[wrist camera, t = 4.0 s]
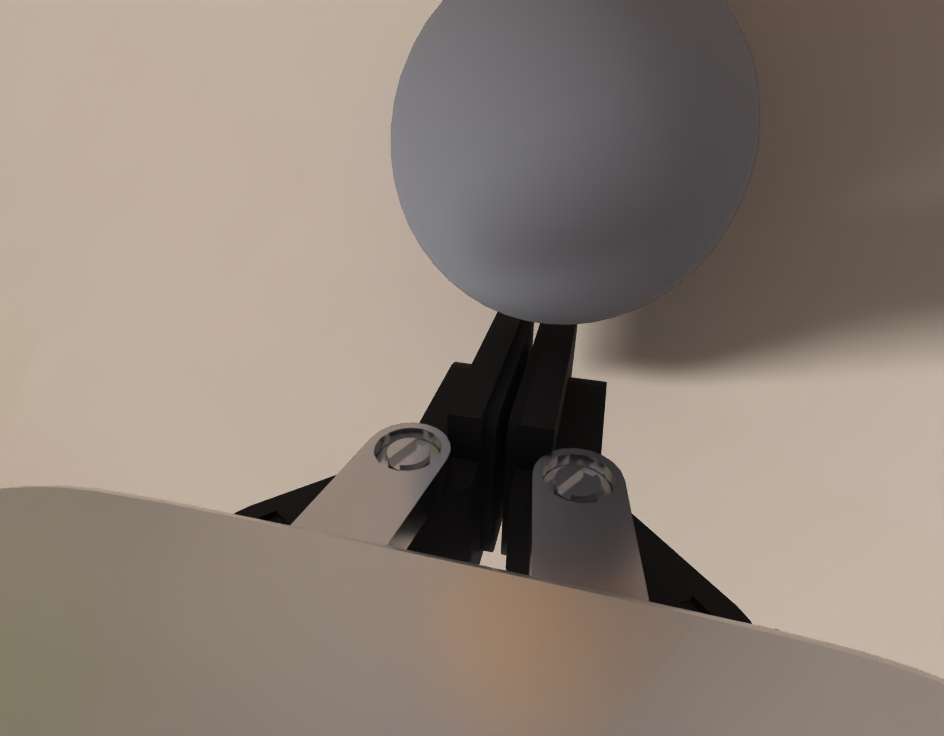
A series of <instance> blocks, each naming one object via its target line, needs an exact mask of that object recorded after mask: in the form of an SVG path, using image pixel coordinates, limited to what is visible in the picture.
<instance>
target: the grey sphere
mask: <svg viewBox="0 0 944 736" xmlns="http://www.w3.org/2000/svg"><path fill="white" fill-rule="evenodd" d="M759 126H760V110H759V95H758V82H757V78H756V73H755V69H754V64H753V59H752V56H751V53H750V51H749V48H748V46H747V43H746V40H745V38H744V35H743V33H742V31H741V29H740V26H739V24H738V22H737V20H736V19H735V17H734V16H733V14H732V12H731V11H730V9H729V7H728V6H727V4H726V3H725V1H724V0H443V1H442V3H441V4H440V5H439V6H438V8H437V9H436V10H435V11H434V13H433V14H432V15H431V17H430V18H429V19H428V20H427V22H426V23H425V25H424V27H423V29H422V30H421V32H420V34H419V36H418V37H417V39H416V41H415V42H414V45H413V47H412V49H411V51H410V54H409V56H408V59H407V61H406V64H405V66H404V69H403V71H402V74H401V76H400V80H399V84H398V88H397V92H396V96H395V99H394V107H393V115H392V123H391V160H392V167H393V175H394V182H395V186H396V189H397V193H398V197H399V201H400V204H401V207H402V209H403V212H404V214H405V217H406V219H407V222H408V224H409V227H410V228H411V230H412V232H413V234H414V236H415V237H416V239H417V241H418V243H419V245H420V246H421V248H422V249H423V250H424V252H425V253H426V254H427V256H428V257H429V258H430V260H431V261H432V263H433V264H434V265H435V266H436V267H437V268H438V269H439V270H440V271H441V272H442V273H443V274H444V276H445V277H446V278H447V279H448V280H449V281H450V282H452V283H453V284H454V285H455V286H457V287H458V288H459V289H460V290H462V291H463V292H464V293H465V294H467V295H468V296H470V297H471V298H473V299H475V300H476V301H478V302H480V303H481V304H483V305H485V306H486V307H489V308H491V309H493V310H496V311H498V312H500V313H502V314H505V315H508V316H511V317H515V318H518V319H522V320H525V321H530V322H537V323H544V324H560V325H571V324H581V323H591V322H596V321H600V320H604V319H609V318H613V317H616V316H619V315H622V314H624V313H627V312H630V311H632V310H635V309H637V308H639V307H641V306H643V305H645V304H647V303H649V302H651V301H653V300H655V299H657V298H658V297H660V296H661V295H663V294H664V293H666V292H667V291H668V290H670V289H671V288H673V287H674V286H676V285H677V284H679V283H680V282H681V281H682V280H683V279H684V278H685V277H686V276H688V275H689V274H690V273H691V272H692V271H693V270H694V269H695V268H697V267H698V265H699V264H700V263H701V262H702V261H703V260H704V259H705V257H706V256H707V255H708V254H709V253H710V252H711V251H712V250H713V248H714V247H715V246H716V244H717V243H718V241H719V240H720V238H721V237H722V235H723V234H724V232H725V231H726V229H727V228H728V227H729V225H730V223H731V221H732V219H733V217H734V215H735V213H736V211H737V209H738V207H739V205H740V203H741V201H742V199H743V196H744V194H745V191H746V188H747V185H748V183H749V180H750V177H751V174H752V171H753V166H754V162H755V157H756V152H757V148H758V139H759Z"/></svg>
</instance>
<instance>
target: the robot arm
mask: <svg viewBox="0 0 944 736" xmlns="http://www.w3.org/2000/svg"><path fill="white" fill-rule="evenodd" d="M533 330H534V322H530V321H525V320H522V319H518V318H515V317H511V316H508V315H505V314H502V313H500V312H497V314H496V316H495V318H494V320H493V322H492V324H491V326H490V328H489V330H488V332H487V334H486V336H485V338H484V340H483V343H482V345H481V347H480V349H479V351H478V353H477V355H476V357H475V359H474V361H473V363H472V364H467V363H460V362H454V363H453V364H452V365H451V367H450V369H449V371H448V372H447V374H446V376H445V378H444V380H443V381H442V383H441V385H440V387H439V389H438V390H437V392H436V394H435V396H434V397H433V399H432V401H431V403H430V405H429V406H428V408H427V410H426V412H425V414H424V415H423V417H422V419H421V421H420V423H401V424H397V425H392V426H389V427H387V428H385V429H383V430H381V431H379V432H378V433H376V434H375V435H374V436H373V437H371V438H370V439H369V441H368V442H367V443H366V444H365V445H364V446H363V447H362V448H361V449H360V450H359V451H358V452H357V454H356V455H355V456H354V457H353V458H352V459H351V460H350V461H349V462H348V463H347V464H346V465H345V467H344V468H343V469H342V470H341V471H340V472H339V473H338V474H337V475H335V476H332V477H330V478H327V479H324V480H321V481H318V482H316V483H313V484H310V485H307V486H304V487H302V488H299V489H296V490H293V491H290V492H288V493H285V494H282V495H279V496H277V497H274V498H271V499H268V500H265V501H263V502H260V503H257V504H254V505H251V506H249V507H247V508H245V509H243V510H240V511H238V512H236V513H235V514H231V513H226V512H221V511H216V510H211V509H206V508H201V507H196V506H191V505H186V504H182V503H177V502H172V501H167V500H162V499H156V498H150V497H144V496H138V495H132V494H126V493H120V492H114V491H107V490H101V489H95V488H83V487H72V486H20V487H11V488H2V489H0V736H944V679H942V678H939V677H937V676H934V675H932V674H929V673H927V672H924V671H922V670H919V669H917V668H914V667H910V666H907V665H904V664H901V663H898V662H894V661H891V660H888V659H885V658H882V657H879V656H875V655H872V654H869V653H866V652H863V651H859V650H855V649H851V648H847V647H843V646H839V645H835V644H831V643H827V642H823V641H819V640H815V639H811V638H807V637H803V636H799V635H795V634H791V633H787V632H783V631H780V630H777V629H771V628H767V627H763V626H759V625H754V624H752V623H751V621H750V620H749V619H748V618H747V617H746V615H745V614H744V613H743V612H742V611H741V610H740V609H739V608H738V607H737V606H736V605H735V604H734V603H733V602H732V601H731V600H729V599H728V598H727V597H726V596H725V595H724V594H723V593H721V592H720V591H719V590H718V589H717V588H716V587H715V586H714V585H712V584H711V583H710V582H709V581H708V580H707V579H706V578H704V577H703V576H702V575H701V574H700V573H699V572H698V571H697V570H695V569H694V568H693V567H692V566H691V565H690V564H689V563H687V562H686V561H685V560H684V559H683V558H682V557H681V556H679V555H678V554H677V553H676V552H675V551H674V550H673V549H672V548H670V547H669V546H668V545H667V544H666V543H665V542H664V541H662V540H661V539H660V538H659V537H658V536H657V535H656V534H655V533H653V532H652V531H651V530H650V529H649V528H648V527H647V526H645V525H644V524H643V523H642V522H641V521H640V520H639V519H638V518H636V517H635V516H634V515H633V514H632V513H631V508H630V503H629V498H628V493H627V488H626V483H625V480H624V477H623V475H622V473H621V470H620V469H619V468H618V467H617V466H616V465H615V464H614V463H613V462H612V461H610V460H609V459H607V458H606V457H604V456H603V455H601V449H602V436H603V423H604V411H605V398H606V385H607V382H603V381H595V380H587V379H580V378H572V377H571V375H572V366H573V358H574V349H575V340H576V332H577V324H571V325H560V324H544V323H540V325H539V328H538V331H537V335H536V338H535V341H534V344H533ZM532 345H533V347H532ZM501 522H502V541H501V554H503V555H507V556H506V570H507V571H505V570H501V569H496V568H491V567H486V566H482V565H479V564H480V560H481V557H482V554H483V551H488V552H493V551H494V548H495V544H496V541H497V537H498V533H499V530H500V526H501Z"/></svg>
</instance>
